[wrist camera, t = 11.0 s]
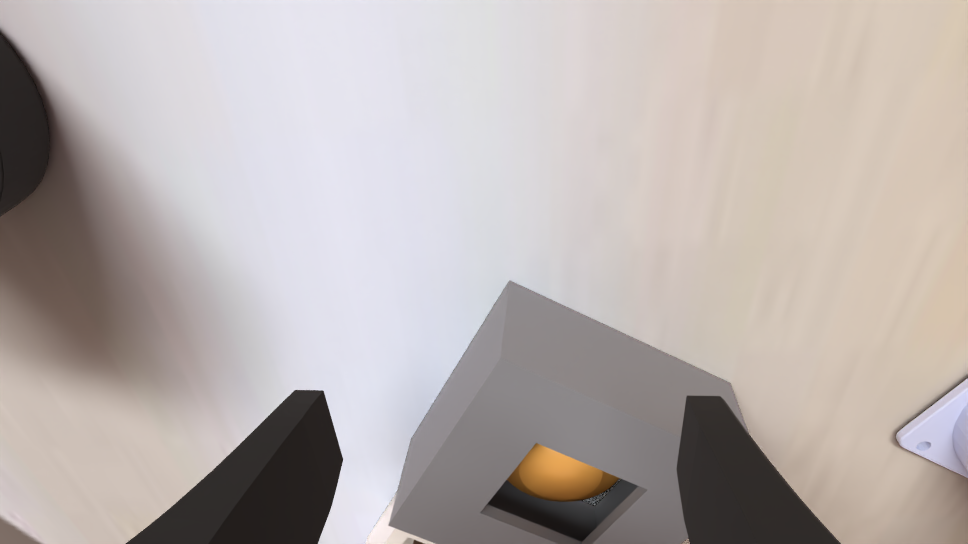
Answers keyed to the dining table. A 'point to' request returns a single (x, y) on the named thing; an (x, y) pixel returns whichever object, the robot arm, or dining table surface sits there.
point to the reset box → (551, 432)
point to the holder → (390, 531)
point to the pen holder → (20, 131)
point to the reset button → (558, 477)
